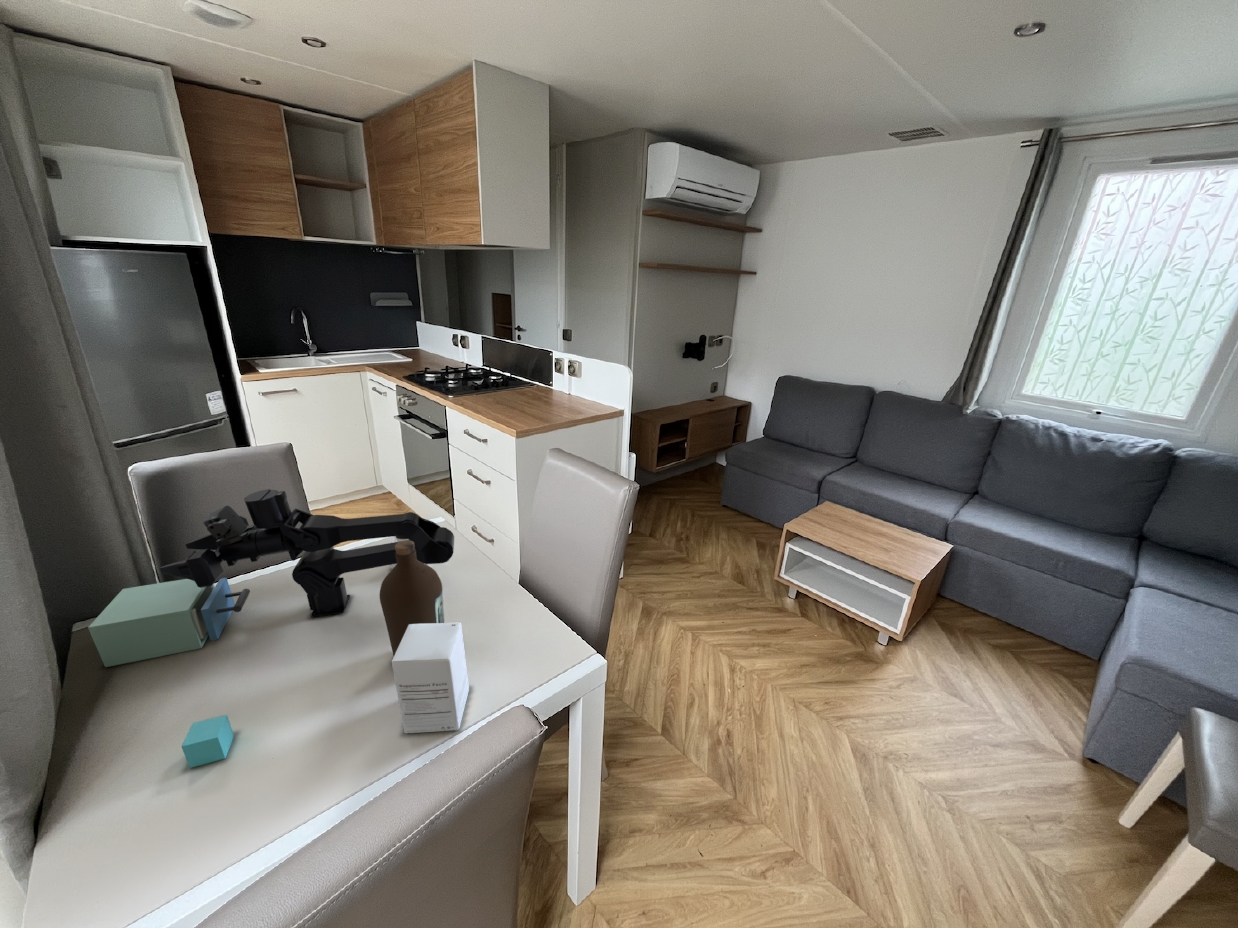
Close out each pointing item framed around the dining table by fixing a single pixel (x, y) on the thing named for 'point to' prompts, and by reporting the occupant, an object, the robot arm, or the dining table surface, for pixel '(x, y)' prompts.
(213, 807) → the dining table surface
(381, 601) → the olive oil
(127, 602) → the cabinet
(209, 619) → the drawer
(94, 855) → the dining table surface
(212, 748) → the block
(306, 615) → the dining table surface
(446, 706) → the white product box
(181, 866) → the dining table surface
